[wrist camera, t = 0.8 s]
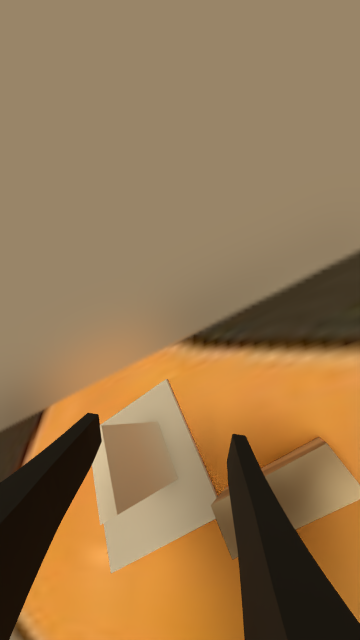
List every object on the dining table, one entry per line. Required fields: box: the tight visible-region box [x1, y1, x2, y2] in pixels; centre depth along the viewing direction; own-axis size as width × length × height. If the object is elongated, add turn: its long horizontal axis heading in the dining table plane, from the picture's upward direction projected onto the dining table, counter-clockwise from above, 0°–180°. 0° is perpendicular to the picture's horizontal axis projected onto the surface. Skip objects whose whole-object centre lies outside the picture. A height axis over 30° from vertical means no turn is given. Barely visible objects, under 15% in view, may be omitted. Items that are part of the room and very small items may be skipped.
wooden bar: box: [211, 437, 360, 559], centre depth 15 cm, size 3×10×4 cm, turn 118°
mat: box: [100, 379, 218, 573], centre depth 23 cm, size 14×14×1 cm
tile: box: [92, 422, 178, 525], centre depth 19 cm, size 6×2×9 cm, turn 29°
